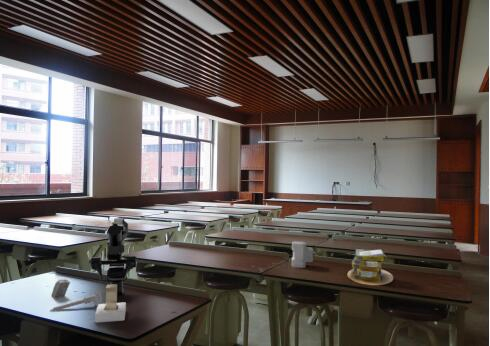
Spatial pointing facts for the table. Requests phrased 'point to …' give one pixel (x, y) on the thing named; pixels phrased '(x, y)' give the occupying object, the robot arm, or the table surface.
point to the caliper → (80, 302)
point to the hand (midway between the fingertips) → (112, 279)
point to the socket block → (110, 313)
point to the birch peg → (111, 297)
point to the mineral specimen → (60, 288)
